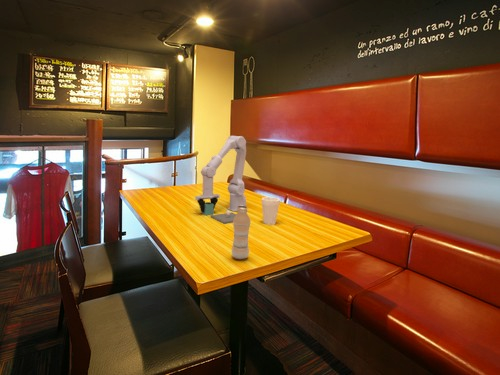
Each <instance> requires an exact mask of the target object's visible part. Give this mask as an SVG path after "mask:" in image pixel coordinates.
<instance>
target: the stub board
mask: <svg viewBox="0 0 500 375" xmlns="http://www.w3.org/2000/svg"><path fill="white" fill-rule="evenodd" d="M236 214H237V213H234V212H233V211H231V210H229V209H227V210H226V213H219V214H212V215H209V217H210V218H211V219H213V220H216V221H217V222H219V223H220V224H223V225H226V224H233V219H234V217H235V216H236Z"/></svg>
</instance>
